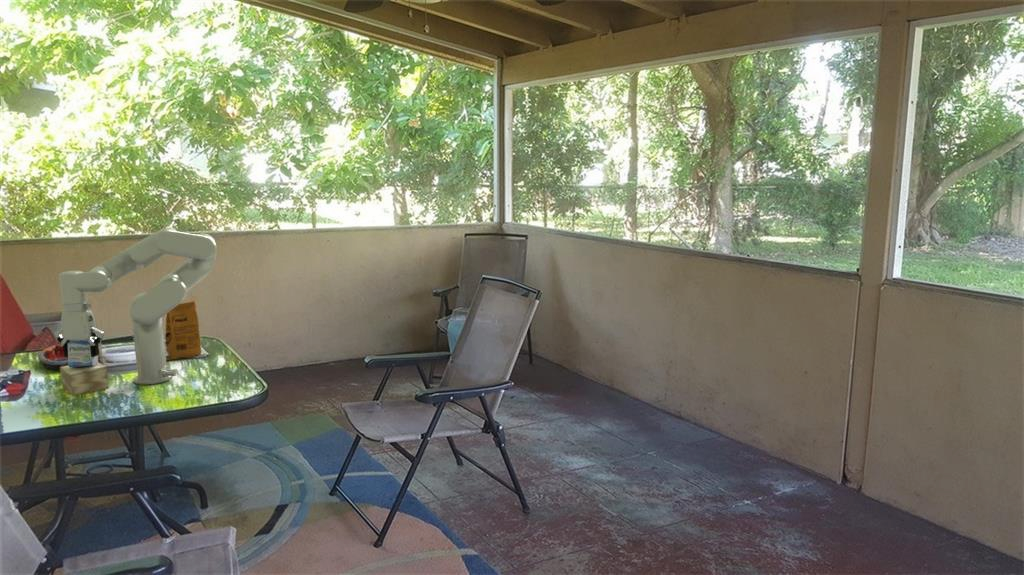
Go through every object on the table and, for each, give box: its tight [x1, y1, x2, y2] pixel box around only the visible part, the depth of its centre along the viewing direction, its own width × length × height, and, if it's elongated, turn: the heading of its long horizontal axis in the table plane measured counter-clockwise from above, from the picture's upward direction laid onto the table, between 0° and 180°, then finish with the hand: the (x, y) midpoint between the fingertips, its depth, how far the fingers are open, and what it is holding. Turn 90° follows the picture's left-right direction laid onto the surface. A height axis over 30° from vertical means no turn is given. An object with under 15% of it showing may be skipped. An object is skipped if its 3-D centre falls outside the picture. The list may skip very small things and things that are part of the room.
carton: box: [59, 368, 110, 397], centre depth 244 cm, size 11×12×7 cm
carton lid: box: [60, 362, 108, 375], centre depth 243 cm, size 11×12×1 cm
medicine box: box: [68, 341, 98, 367], centre depth 243 cm, size 8×4×9 cm, turn 98°
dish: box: [37, 344, 68, 371], centre depth 275 cm, size 16×31×5 cm, turn 36°
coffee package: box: [164, 299, 202, 360], centre depth 283 cm, size 10×12×22 cm
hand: (81, 355), depth 242 cm, fingers open, 9 cm apart
